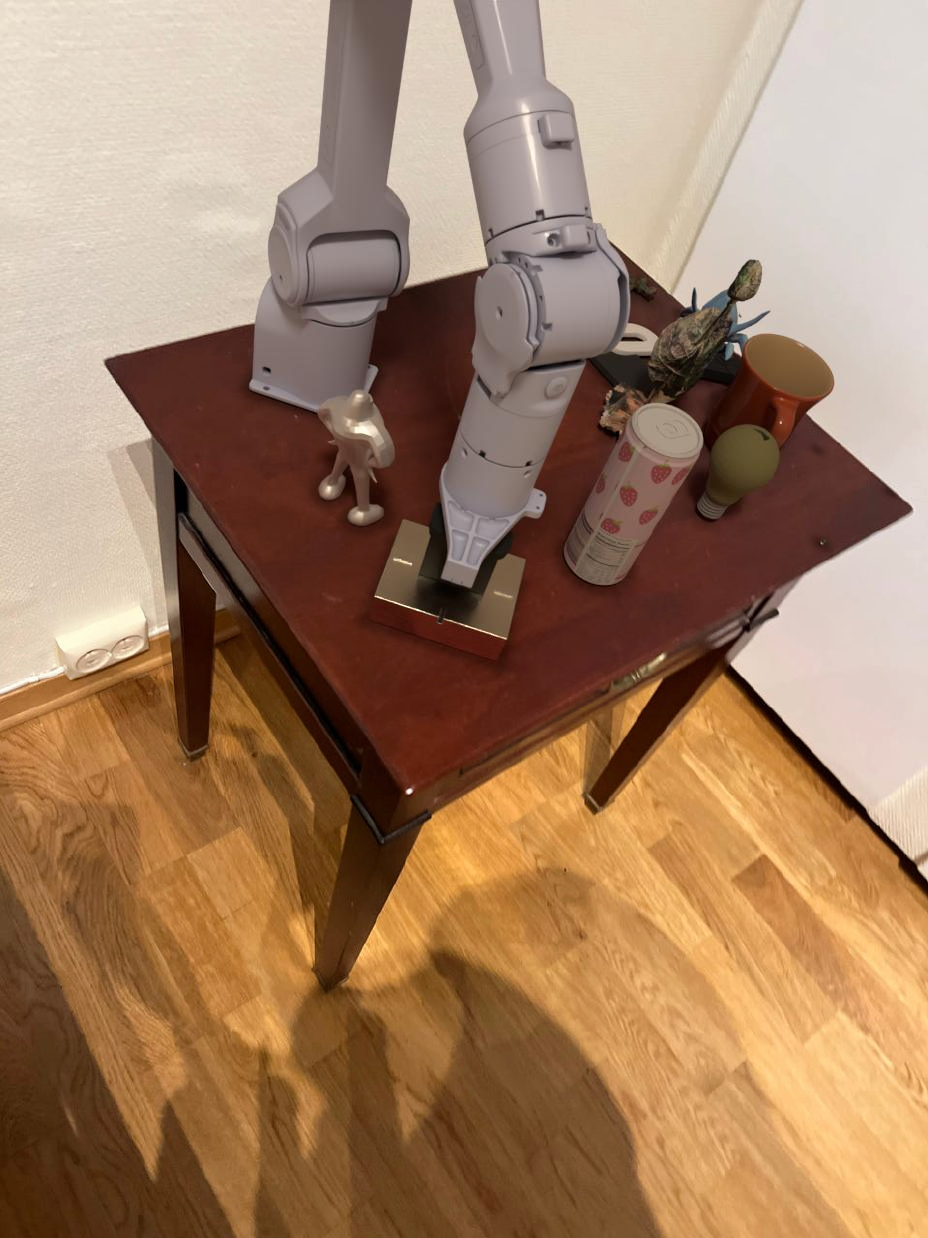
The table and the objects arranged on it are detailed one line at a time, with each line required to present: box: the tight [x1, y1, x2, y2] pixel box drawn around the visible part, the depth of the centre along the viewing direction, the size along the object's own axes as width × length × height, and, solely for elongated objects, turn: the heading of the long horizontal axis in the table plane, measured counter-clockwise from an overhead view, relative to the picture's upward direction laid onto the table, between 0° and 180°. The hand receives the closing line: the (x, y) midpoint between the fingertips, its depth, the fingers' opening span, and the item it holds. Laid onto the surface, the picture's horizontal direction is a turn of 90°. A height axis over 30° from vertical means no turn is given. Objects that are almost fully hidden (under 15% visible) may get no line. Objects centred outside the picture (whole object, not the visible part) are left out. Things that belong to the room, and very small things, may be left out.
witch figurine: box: [629, 273, 658, 300], centre depth 99 cm, size 5×12×2 cm, turn 51°
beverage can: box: [563, 403, 704, 586], centre depth 67 cm, size 6×6×15 cm
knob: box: [419, 536, 498, 594], centre depth 63 cm, size 5×2×4 cm, turn 77°
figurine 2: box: [676, 286, 772, 385], centre depth 92 cm, size 10×12×8 cm
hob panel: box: [368, 518, 527, 662], centre depth 66 cm, size 10×9×3 cm
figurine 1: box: [317, 390, 396, 527], centre depth 65 cm, size 7×4×12 cm, turn 49°
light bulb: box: [696, 424, 780, 520], centre depth 76 cm, size 6×6×10 cm
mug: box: [704, 333, 835, 453], centre depth 81 cm, size 12×9×10 cm
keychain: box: [588, 339, 675, 405], centre depth 88 cm, size 5×1×10 cm
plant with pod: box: [598, 258, 763, 436], centre depth 77 cm, size 8×11×20 cm
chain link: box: [611, 322, 659, 357], centre depth 91 cm, size 8×1×5 cm
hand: (455, 570), depth 64 cm, fingers closed on knob, 2 cm apart
